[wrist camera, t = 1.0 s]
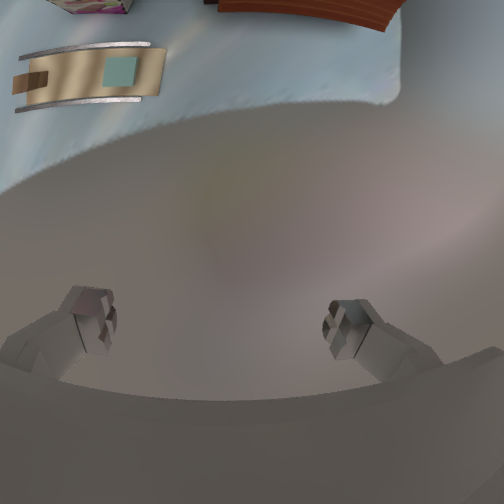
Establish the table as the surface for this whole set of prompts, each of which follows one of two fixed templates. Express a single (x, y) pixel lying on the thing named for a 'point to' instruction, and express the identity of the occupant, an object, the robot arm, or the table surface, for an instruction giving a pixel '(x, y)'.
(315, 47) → the table surface
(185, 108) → the table surface
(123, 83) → the cube
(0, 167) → the table surface
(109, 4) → the candy bar box
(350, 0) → the house
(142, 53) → the tan long piece
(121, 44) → the track
